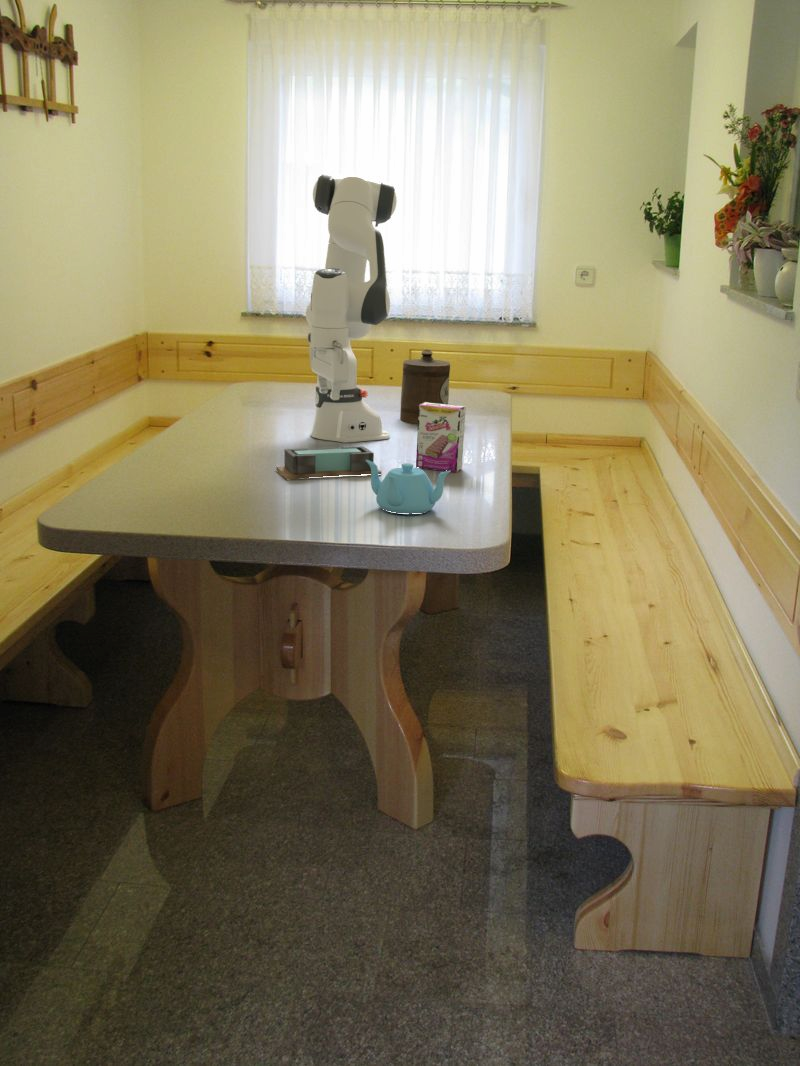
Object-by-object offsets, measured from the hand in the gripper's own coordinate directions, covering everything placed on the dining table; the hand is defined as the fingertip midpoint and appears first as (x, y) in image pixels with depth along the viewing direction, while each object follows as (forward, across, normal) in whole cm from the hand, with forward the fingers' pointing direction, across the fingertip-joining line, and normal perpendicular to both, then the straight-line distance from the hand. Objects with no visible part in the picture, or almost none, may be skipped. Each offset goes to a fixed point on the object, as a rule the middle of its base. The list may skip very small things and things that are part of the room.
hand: (329, 396), depth 267 cm
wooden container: (+20, +62, -50) cm, 82 cm away
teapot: (+19, -38, -6) cm, 43 cm away
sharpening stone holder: (+19, 0, 0) cm, 19 cm away
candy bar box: (+20, -2, -29) cm, 35 cm away
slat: (+18, 0, 0) cm, 18 cm away
